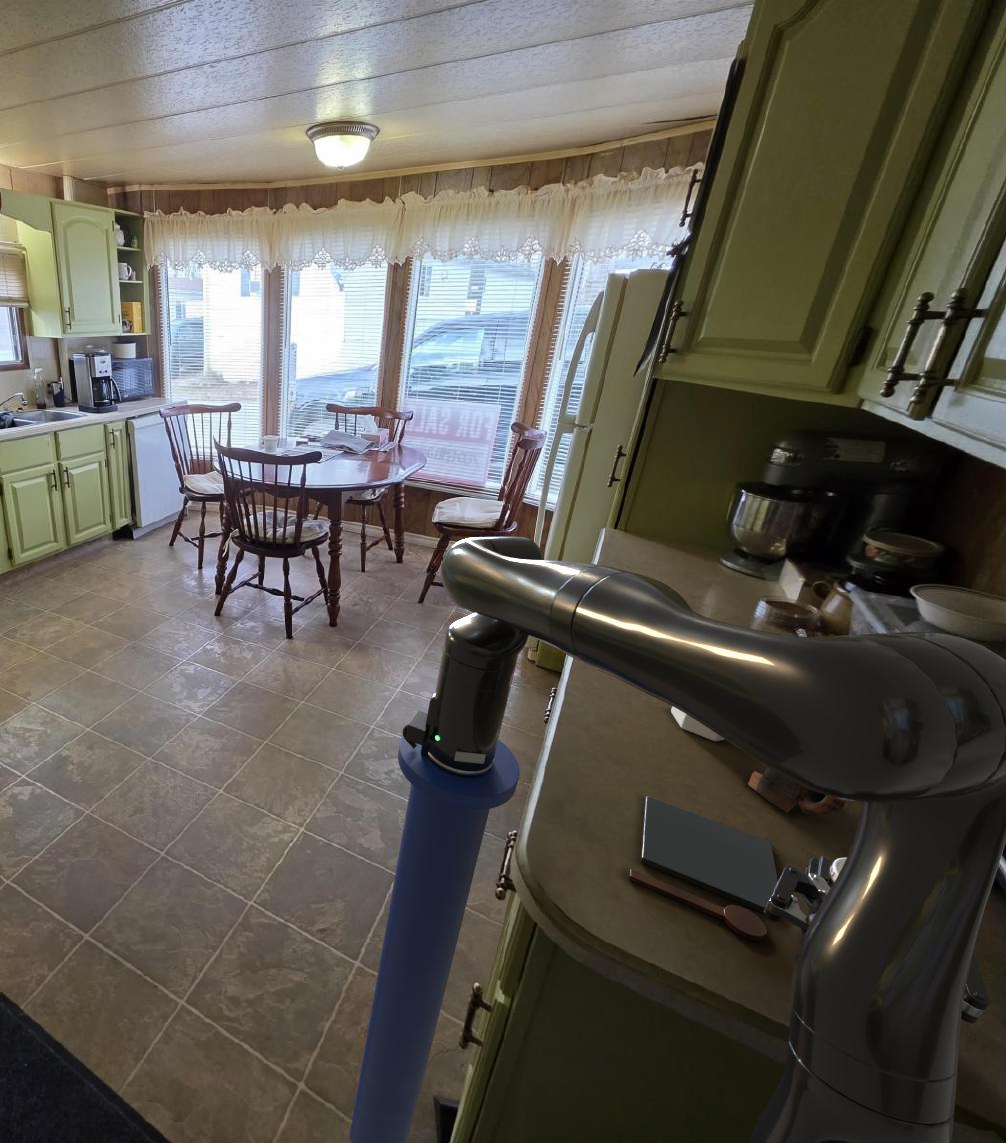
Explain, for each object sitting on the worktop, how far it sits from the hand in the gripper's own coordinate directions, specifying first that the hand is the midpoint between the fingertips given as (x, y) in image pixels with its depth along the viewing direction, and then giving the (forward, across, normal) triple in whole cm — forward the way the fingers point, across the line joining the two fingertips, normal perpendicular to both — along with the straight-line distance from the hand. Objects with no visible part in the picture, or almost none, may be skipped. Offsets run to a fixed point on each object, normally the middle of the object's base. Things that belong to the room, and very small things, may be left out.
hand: (868, 885), depth 59 cm
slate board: (+4, +12, +8) cm, 15 cm away
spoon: (-6, +12, +8) cm, 15 cm away
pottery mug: (+23, +5, +8) cm, 25 cm away
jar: (+34, +17, +8) cm, 39 cm away
